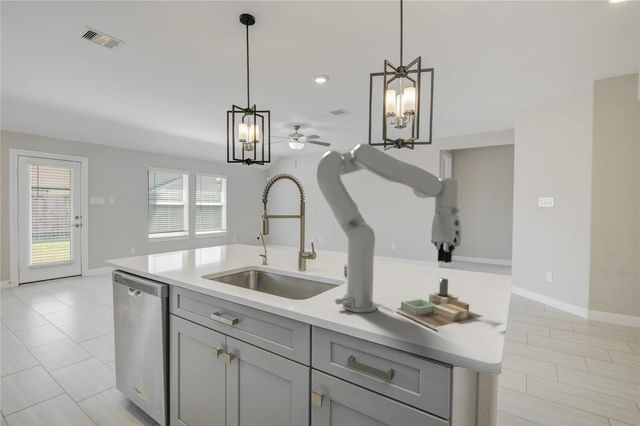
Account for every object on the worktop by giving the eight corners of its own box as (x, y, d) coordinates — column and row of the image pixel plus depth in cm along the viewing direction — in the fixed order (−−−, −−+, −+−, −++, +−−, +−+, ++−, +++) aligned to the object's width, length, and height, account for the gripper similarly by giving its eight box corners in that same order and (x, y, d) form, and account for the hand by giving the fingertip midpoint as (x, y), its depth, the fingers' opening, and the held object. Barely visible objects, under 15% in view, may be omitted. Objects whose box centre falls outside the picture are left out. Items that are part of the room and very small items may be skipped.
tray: (417, 315, 101) (417, 308, 101) (401, 308, 107) (401, 301, 107) (436, 312, 105) (436, 304, 105) (420, 305, 112) (420, 298, 112)
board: (436, 331, 92) (436, 313, 92) (396, 312, 108) (396, 297, 108) (482, 320, 102) (483, 304, 102) (439, 304, 118) (440, 290, 118)
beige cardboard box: (452, 321, 96) (453, 313, 96) (433, 313, 104) (433, 305, 103) (467, 317, 100) (467, 310, 100) (447, 310, 107) (447, 303, 107)
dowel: (443, 307, 110) (444, 280, 109) (437, 305, 112) (438, 278, 112) (448, 306, 111) (449, 279, 111) (442, 304, 113) (443, 278, 113)
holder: (444, 310, 107) (444, 299, 107) (428, 304, 113) (429, 293, 113) (457, 307, 110) (458, 296, 110) (442, 302, 116) (442, 291, 116)
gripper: (472, 212, 105) (470, 264, 106) (435, 211, 119) (434, 257, 120) (457, 212, 102) (455, 266, 102) (422, 211, 116) (420, 258, 116)
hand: (444, 261), depth 111 cm, fingers closed
